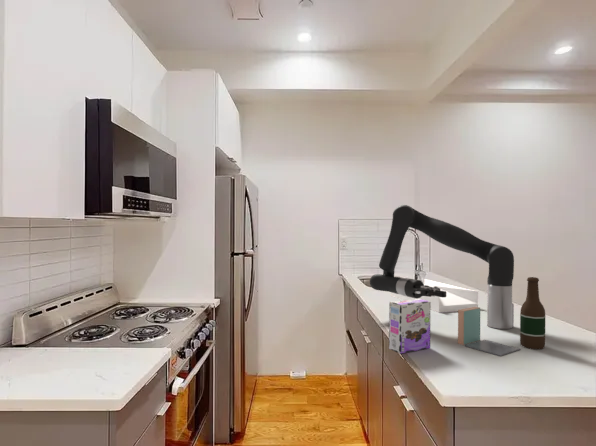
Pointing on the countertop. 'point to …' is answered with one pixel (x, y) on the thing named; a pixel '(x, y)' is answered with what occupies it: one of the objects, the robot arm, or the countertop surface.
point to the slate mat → (492, 347)
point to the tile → (468, 325)
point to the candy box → (409, 325)
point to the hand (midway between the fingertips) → (445, 294)
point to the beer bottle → (532, 318)
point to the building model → (447, 297)
